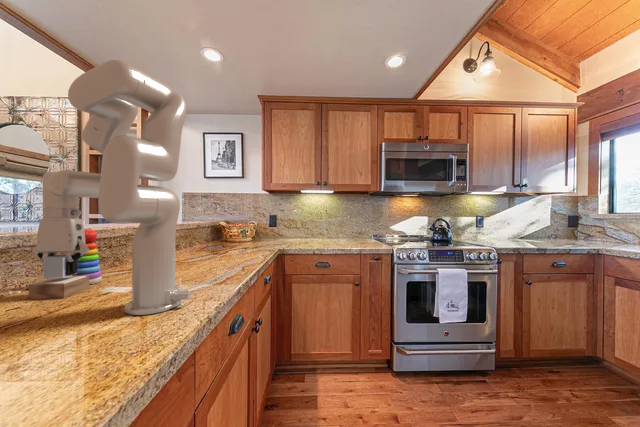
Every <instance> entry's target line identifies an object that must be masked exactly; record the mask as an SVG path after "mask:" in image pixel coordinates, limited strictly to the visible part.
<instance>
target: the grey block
mask: <svg viewBox="0 0 640 427" xmlns="http://www.w3.org/2000/svg"><path fill="white" fill-rule="evenodd" d="M72 255H73V253H72ZM66 262H68V259H67V256H66V253H64V254H63V253H62V254H60V253H59V254H56V255H53V256H48V257H44V262H43V279H51V278H63V277H66V276H67V275H66ZM76 274H77V273H76ZM72 275H73V274H72ZM72 275H68V276H72Z"/></svg>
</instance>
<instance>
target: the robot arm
mask: <svg viewBox="0 0 640 427" xmlns="http://www.w3.org/2000/svg"><path fill="white" fill-rule="evenodd" d="M67 91H68V92H67V98H68V101H69V102H68V103H70V105H71V106H72V107H73V108H74V109H76V110H78V111H80V112H84V113H87V114H90V116H89V118H88V120H87V122H86V124H85V127H84V128H83V130H82V132H81V135H80V138H81V140H82V141H83V142H84V143H85V144H86V145H87V146H88V147H90V148H92V149H93V150H95V151H97V152H98V153H100V154H102V159H101V168H100V170H101V171H100V173H94V172H86V171H78V170H70V169H64V170H58V171H57V172H56V171H51V172H49V171H47V172H46V173H44V174H43V175H42V218H41V219H40V221H39V223H38V227H37V228H38V229H37V237H36V245H35V246H34V247H33V248H32V250H31V251H32V253H33V254H34V255H36V256H37V257H38V258H39V259H40V260H41V262H42V263H44V257H48V256H53V255H57V253H64V254H66V256H67V259H68V262H66V275H67V276H68V275H70V276H72V274H76V273H77V260H80V258H81V257H82V256H83V255H84V254H85V253H86V252H88V251H89V248H88V247H87V246H86V245H85V231H84V229H85V227H84V222H83V220H82V218H79V216H81V215H82V213H83V212H82V210H79V198H93V199H98V202H97V203H98V210H99V213H100V215H101V217H102V218H103V219H104V220H106V221H107V222H109V223H112V224H115V225H117V224H119V225H120V224H121V225H123V224H124V225H125V224H126V225H129V224H139V225H138V227H137V229H136V231H135V232H134V235H133V238H132V243H131V244H132V245H131V246H132V248H131V250H132V251H131V255H132V258H131V261H132V262H131V264H132V265H131V267H132V268H131V273H132V274H131V275H132V276H131V278H132V279H131V280H132V281H131V288H132V289H131V298H132V299H131V301H129V302H127V303H126V304H125V305H124V307H123V308H124V313H126V314H127V315H131V316H132V315H133V316H134V315H135V316H144V315H145V316H146V315H152V314H153V315H154V314H158V313H163V312H165V311H168V310H173V309H175V308H176V307H179V306H180V305H181V304H182V300H183V301H184V300H185V301H186V300H190V299H191V295H192V294H191V291H190V289H189V290H188V289H187V290H186V289H184V290H181V289H180V285H177V284H176V239H177V238H176V237H177V236H176V234H177V224H178V218H179V215H180V210H181V204H180V198H179V197H178V196H177V194H176V193H175V192H174V191H173V190H171V189H170V188H166V187H163V186H157V185H149V184H139V182H140V181H139V180H145V181H146V180H147V181H152V182H153V181H154V182H155V181H156V182H170V181H172V180H173V179H174V178H175V176H176V175H177V173H178V167H179V162H180V161H179V160H180V153H181V152H180V151H181V142H182V135H183V134H182V132H183V130H184V129H183V128H184V126H185V121H186V118H187V104H186V101H185V99H184V97H183V96H182V95H181V94H180V93H179V92H178V91H177V90H175V89H174V88H172V87H171V86H169V85H168V84H166V83H164V82H163V81H160V80H159V79H158V78H156V77H154V76H152V75H150V74H148V73H147V72H144V71H143V70H141V69H139V68H137V67H136V66H134V65H132V64H131V63H128V62H126V61H124V60H120V59H110V60H107V61H105V62H102V63H101V64H99V65H97V66H95V67H93V68H91V69H89V70H87V71H86V72H85V71H84V72H83V73H82V74H80V75H79V76H77V77H76V78H75V79H74V80H73V81H72V83H71V84H70V86H69V88H68V90H67ZM139 108H141V109H143V110H145V111H147V112H150V114H149V115H148V116H147V118H146V119H145V120H144V123H143V126H142V134H141V138H139V137H137V136H133V135H128V133H129V131H130V130H131V127H132V126H133V124H134V121H135V120H136V117H137V115H138V114H139ZM78 250H80V251H79V252H78ZM72 254H73V255H72Z"/></svg>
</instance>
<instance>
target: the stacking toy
mask: <svg viewBox="0 0 640 427" xmlns="http://www.w3.org/2000/svg"><path fill="white" fill-rule="evenodd" d="M84 231H85V245H86V246H87V247H88V248H89V251H88V252H86V253H85V254H84V255H83V256H82V257H81V258H80V260H77V274H73V275H71V276H89V286H91V285H90V284H92V285H95V283H96V284H98V283H100V282H102V280H103V276H101V275H103V274H102V273H103V272H102V271H101V266H100V265H99V264H100V260H99V254H98V253H99V250H98V249H97V246H98V244H97V243H96V242H95V241H96V240H97V238H98V235H97V234H98V233H97V232H96V231H95V230H94V229H91V228H84ZM79 251H80V250H78V252H79Z"/></svg>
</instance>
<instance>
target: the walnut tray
mask: <svg viewBox="0 0 640 427" xmlns="http://www.w3.org/2000/svg"><path fill="white" fill-rule="evenodd" d="M89 289H90V285H89V276H72V275H70V276H66V277H63V278H46V279H45V280H41V281H37V282H34V283H33V282H32V283H31V284H29V285H28V300H49V299H51V300H52V299H66V298H68V297H72V296H73V295H76V294H80V293H82V292H84V290H85V291H86V290H89Z"/></svg>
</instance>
